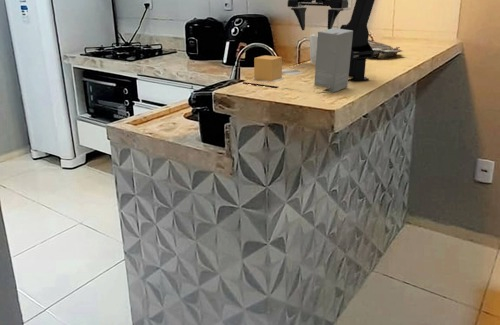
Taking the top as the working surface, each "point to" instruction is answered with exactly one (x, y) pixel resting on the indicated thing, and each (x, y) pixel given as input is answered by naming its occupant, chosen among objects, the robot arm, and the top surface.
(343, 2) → the robot arm
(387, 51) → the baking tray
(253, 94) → the top surface
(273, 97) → the top surface
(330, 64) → the skincare box
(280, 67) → the tan wooden cube
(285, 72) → the board
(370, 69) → the top surface
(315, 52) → the white cup
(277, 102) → the top surface
